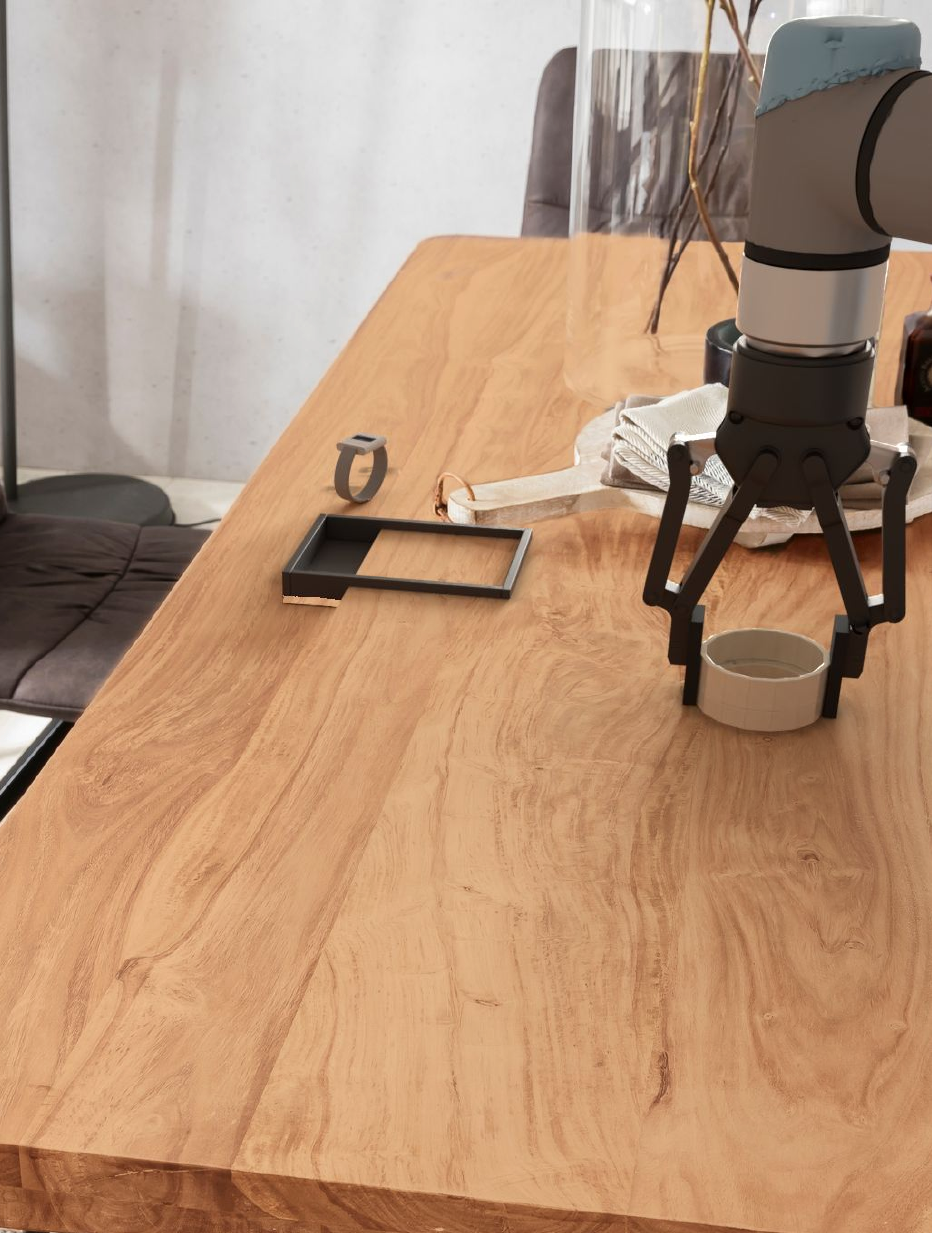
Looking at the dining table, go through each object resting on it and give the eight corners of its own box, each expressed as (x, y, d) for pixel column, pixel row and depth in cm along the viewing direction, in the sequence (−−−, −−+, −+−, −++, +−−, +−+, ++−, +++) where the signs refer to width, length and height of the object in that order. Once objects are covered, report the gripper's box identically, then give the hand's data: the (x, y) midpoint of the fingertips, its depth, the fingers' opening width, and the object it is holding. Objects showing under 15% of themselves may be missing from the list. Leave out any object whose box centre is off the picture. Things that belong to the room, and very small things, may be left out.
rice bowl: (820, 699, 108) (829, 632, 106) (820, 755, 102) (830, 686, 99) (696, 689, 110) (703, 623, 107) (689, 743, 103) (697, 675, 101)
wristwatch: (355, 515, 137) (355, 453, 134) (326, 508, 138) (325, 447, 135) (396, 492, 141) (396, 431, 138) (367, 485, 142) (367, 426, 140)
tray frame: (531, 559, 129) (533, 528, 128) (508, 622, 119) (510, 590, 118) (320, 543, 132) (320, 513, 131) (282, 603, 123) (281, 571, 121)
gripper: (998, 327, 94) (928, 704, 107) (620, 313, 98) (595, 678, 111) (1010, 364, 88) (935, 760, 100) (607, 348, 92) (582, 730, 105)
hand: (757, 716), depth 106 cm, fingers closed on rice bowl, 8 cm apart
